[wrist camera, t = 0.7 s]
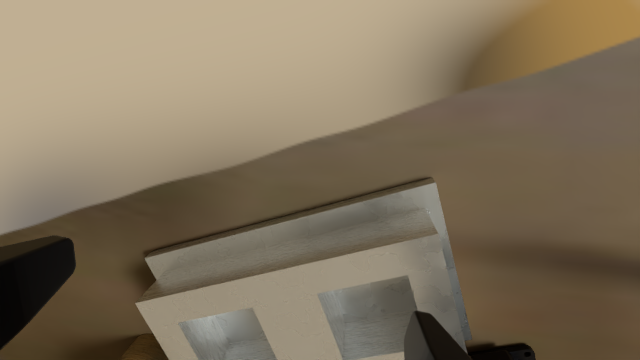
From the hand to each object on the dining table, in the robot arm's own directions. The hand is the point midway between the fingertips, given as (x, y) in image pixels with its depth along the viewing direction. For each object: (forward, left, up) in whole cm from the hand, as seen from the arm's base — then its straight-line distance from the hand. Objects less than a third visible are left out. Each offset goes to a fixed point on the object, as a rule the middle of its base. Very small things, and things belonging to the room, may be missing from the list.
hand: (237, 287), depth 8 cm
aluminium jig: (-10, +4, -14) cm, 18 cm away
